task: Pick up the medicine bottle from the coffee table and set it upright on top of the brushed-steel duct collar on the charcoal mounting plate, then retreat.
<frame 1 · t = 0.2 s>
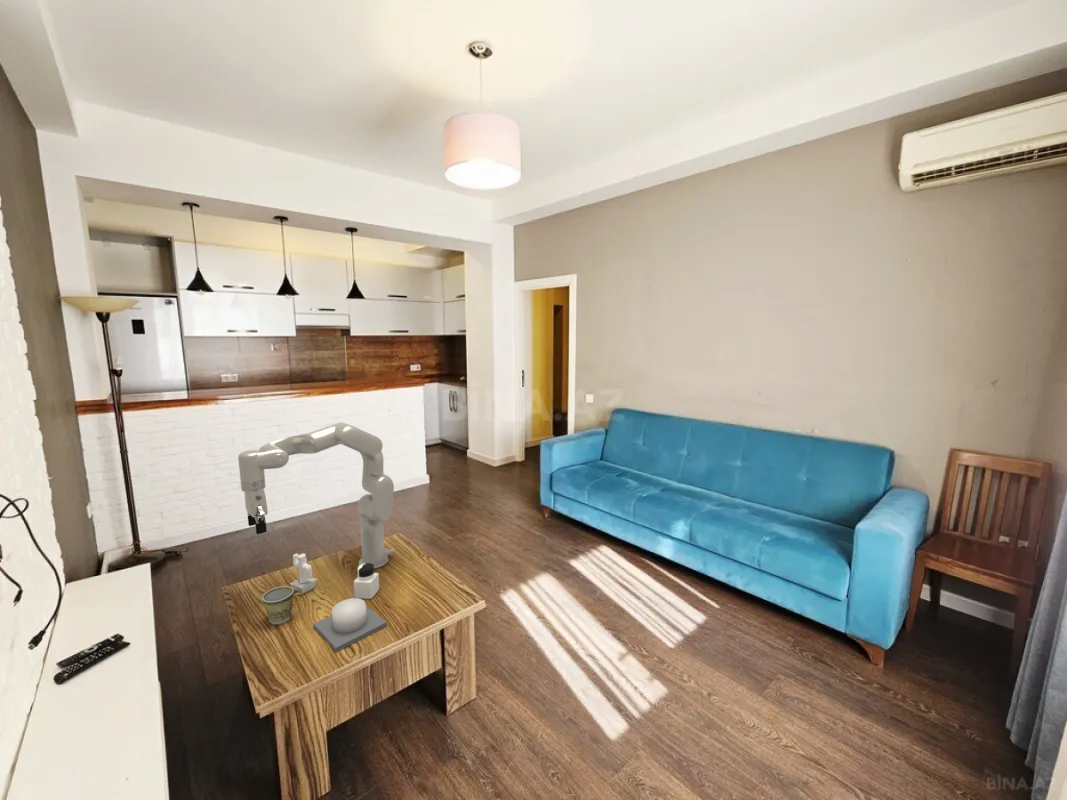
hand: (257, 528, 167), 31 cm above the table, fingers open, 9 cm apart
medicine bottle: (367, 594, 180), on the table
ceramic cup: (285, 618, 165), on the table
figurine: (304, 590, 183), on the table
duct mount: (350, 626, 160), on the table
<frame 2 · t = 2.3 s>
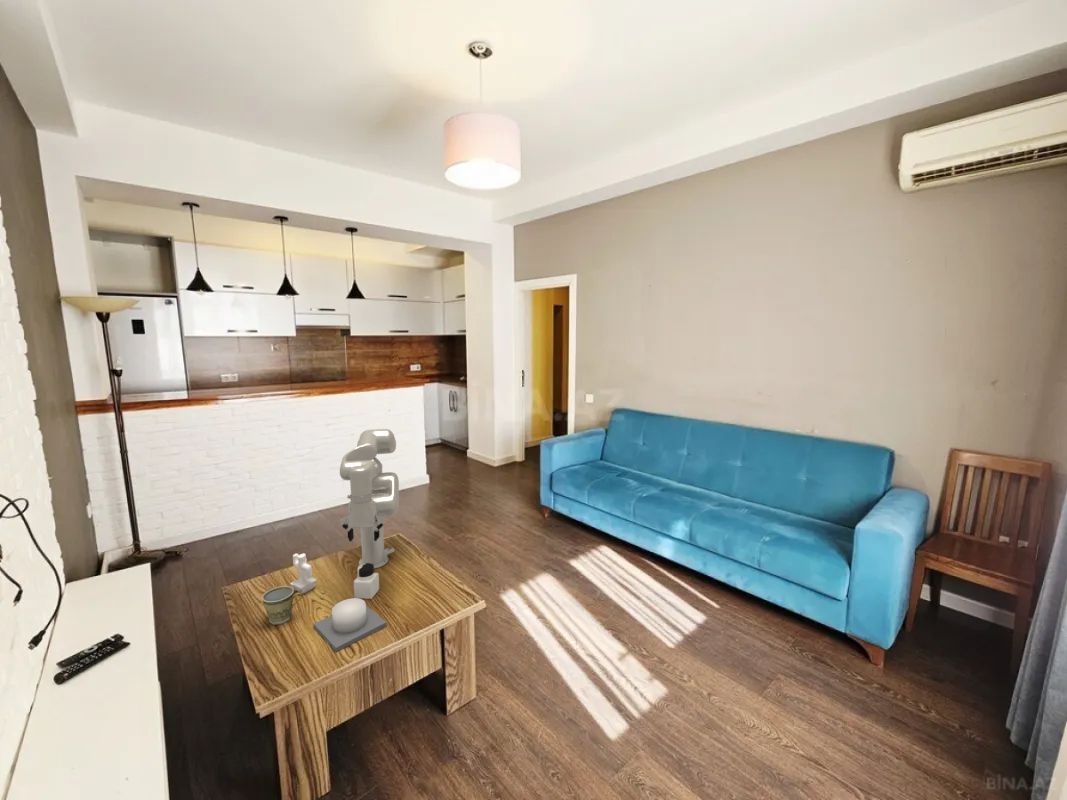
hand: (363, 539, 176), 23 cm above the table, fingers open, 9 cm apart
nothing on the table moved.
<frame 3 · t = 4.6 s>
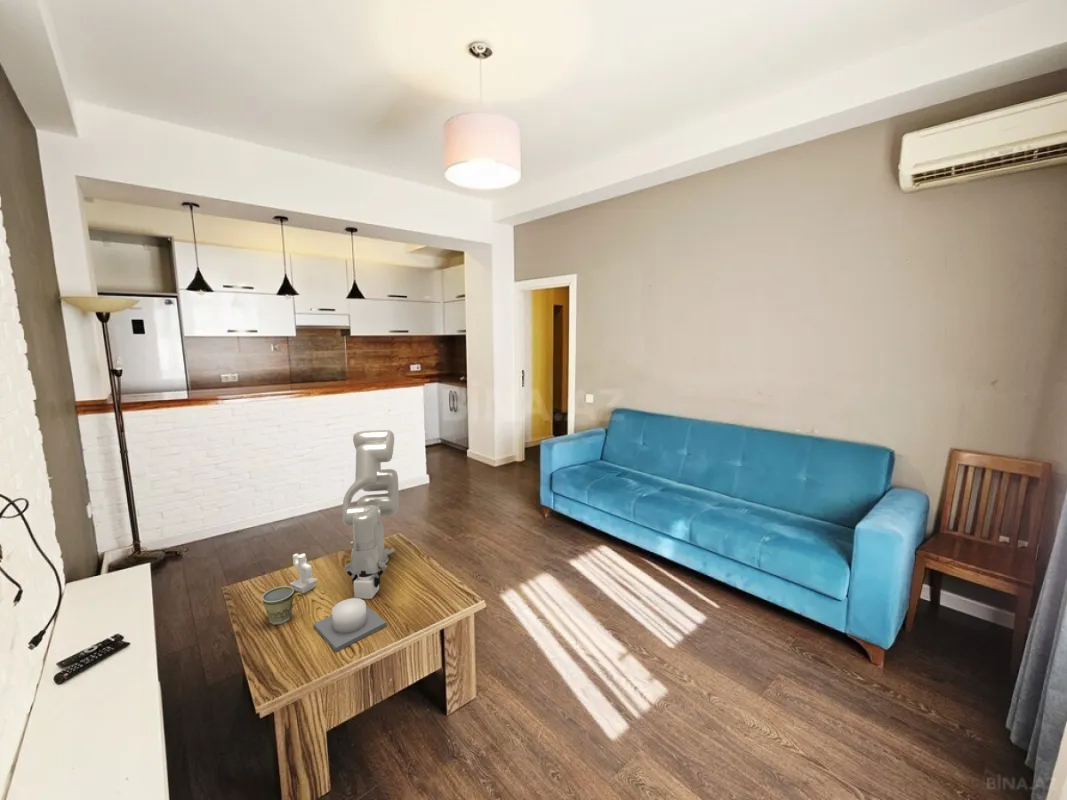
hand: (366, 585, 180), 4 cm above the table, fingers closed on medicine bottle, 7 cm apart
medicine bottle: (367, 594, 180), on the table, touching gripper
everything else where it was.
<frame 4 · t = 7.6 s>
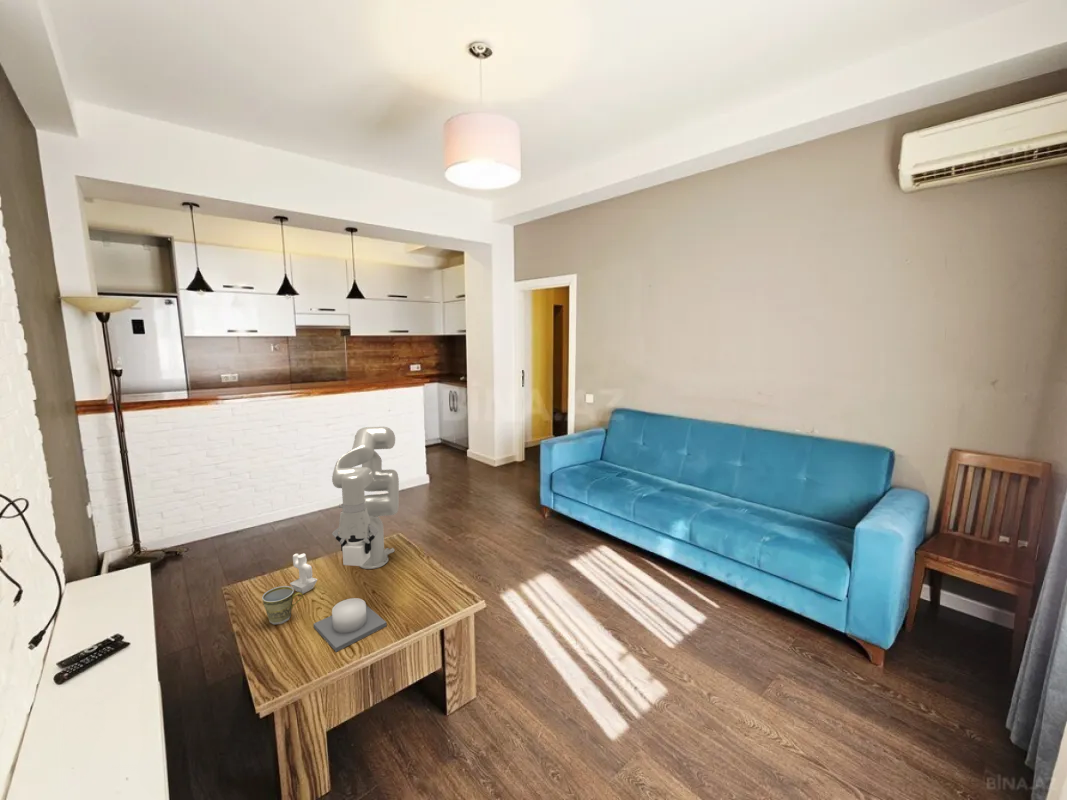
hand: (356, 552, 167), 23 cm above the table, fingers closed on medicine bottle, 7 cm apart
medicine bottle: (357, 561, 168), point 19 cm above the table, touching gripper
everything else where it was.
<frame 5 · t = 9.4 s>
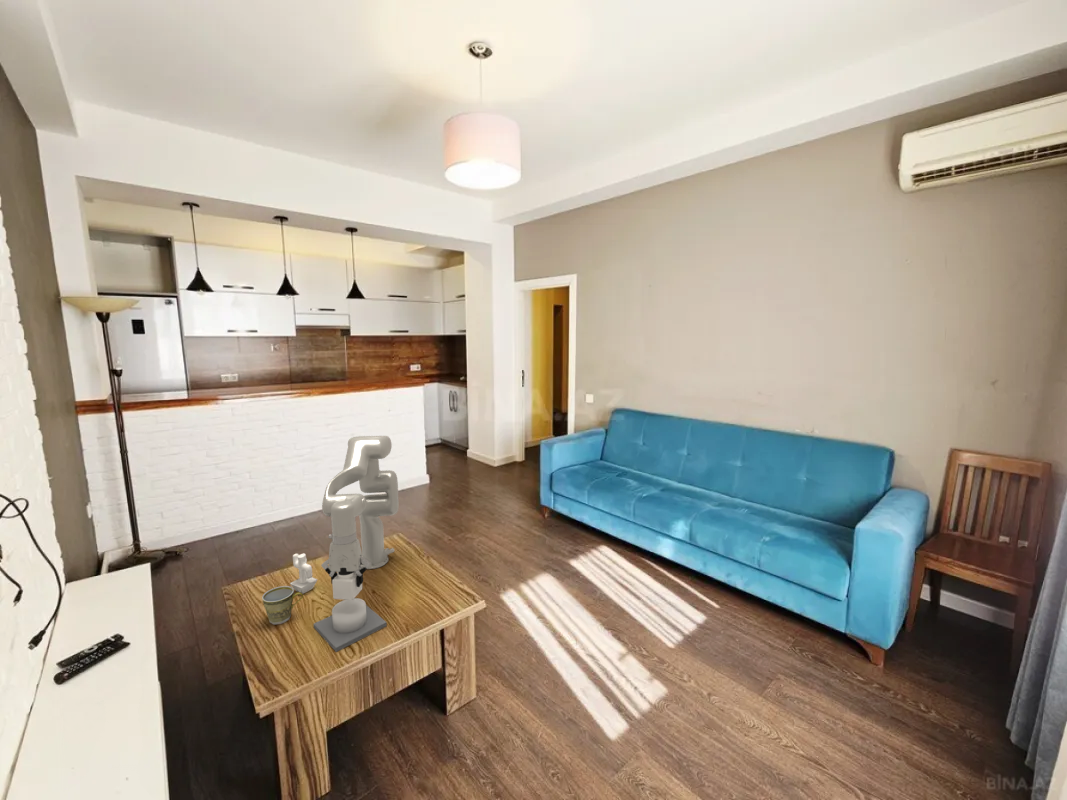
hand: (347, 584, 157), 16 cm above the table, fingers closed on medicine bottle, 7 cm apart
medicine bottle: (348, 594, 158), point 12 cm above the table, touching gripper
everything else where it was.
when the fingers open (12 cm above the table, at t = 11.1 s): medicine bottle drops 1 cm, resting on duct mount.
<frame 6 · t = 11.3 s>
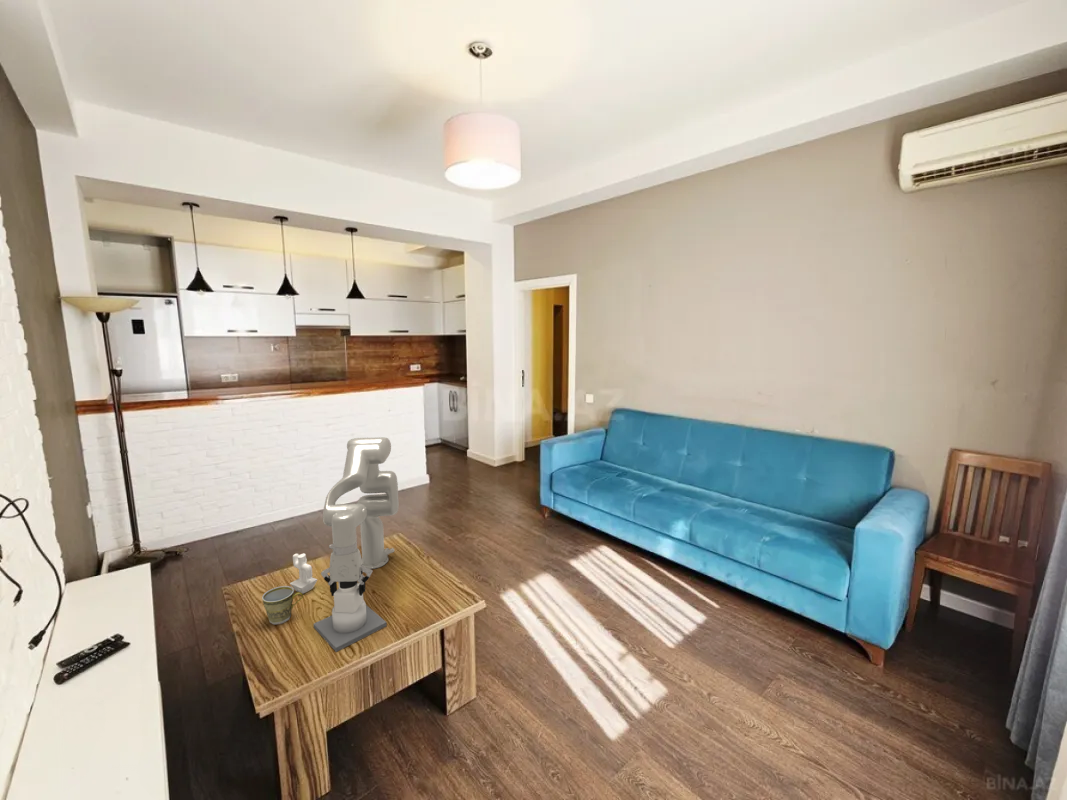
hand: (348, 593, 158), 13 cm above the table, fingers open, 9 cm apart
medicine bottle: (349, 607, 159), point 7 cm above the table, touching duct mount
everything else where it was.
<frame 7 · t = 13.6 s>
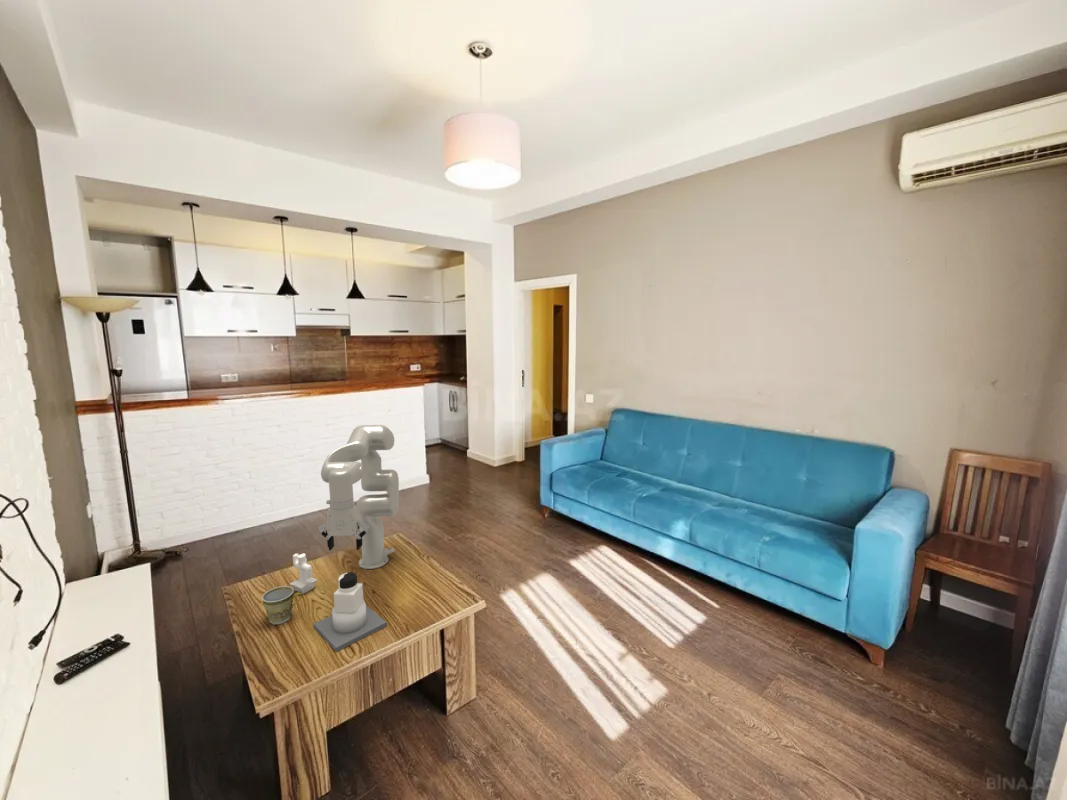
hand: (345, 548, 162), 27 cm above the table, fingers open, 9 cm apart
nothing on the table moved.
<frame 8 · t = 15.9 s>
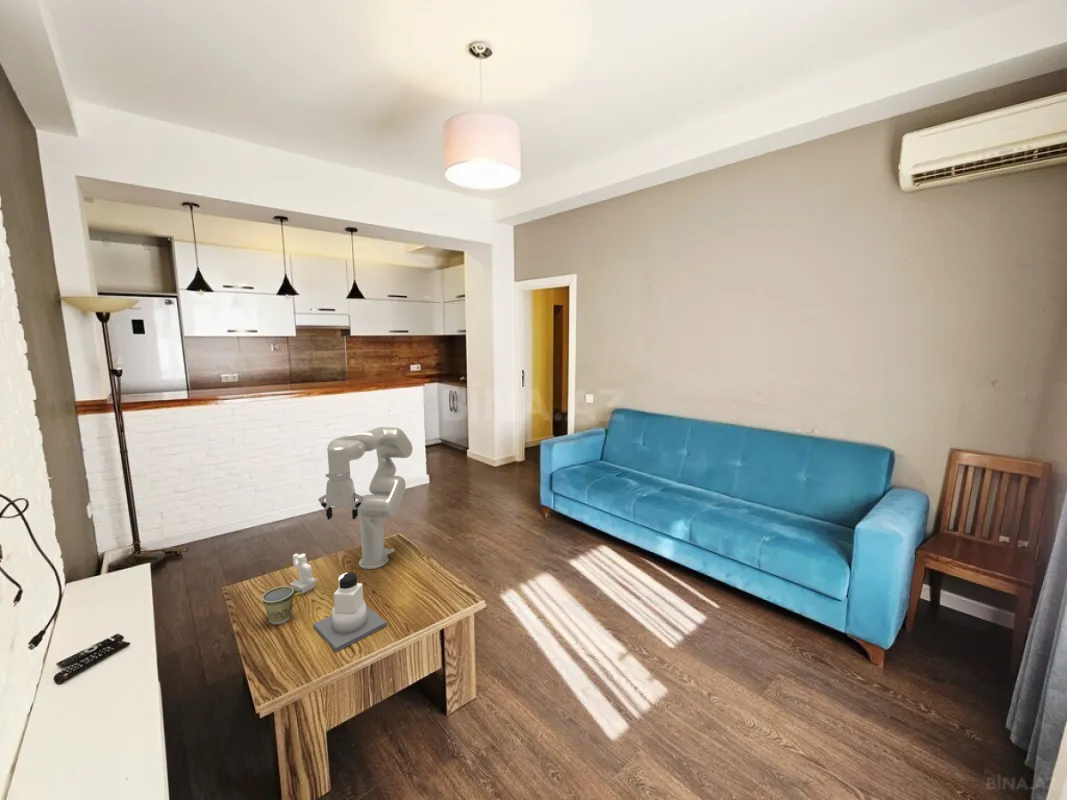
hand: (342, 518, 179), 30 cm above the table, fingers open, 9 cm apart
nothing on the table moved.
at the end: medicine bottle 0.2 cm off-centre on the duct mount, point 7.3 cm above the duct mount's base; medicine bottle tilted 0°; the gripper is holding nothing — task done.
